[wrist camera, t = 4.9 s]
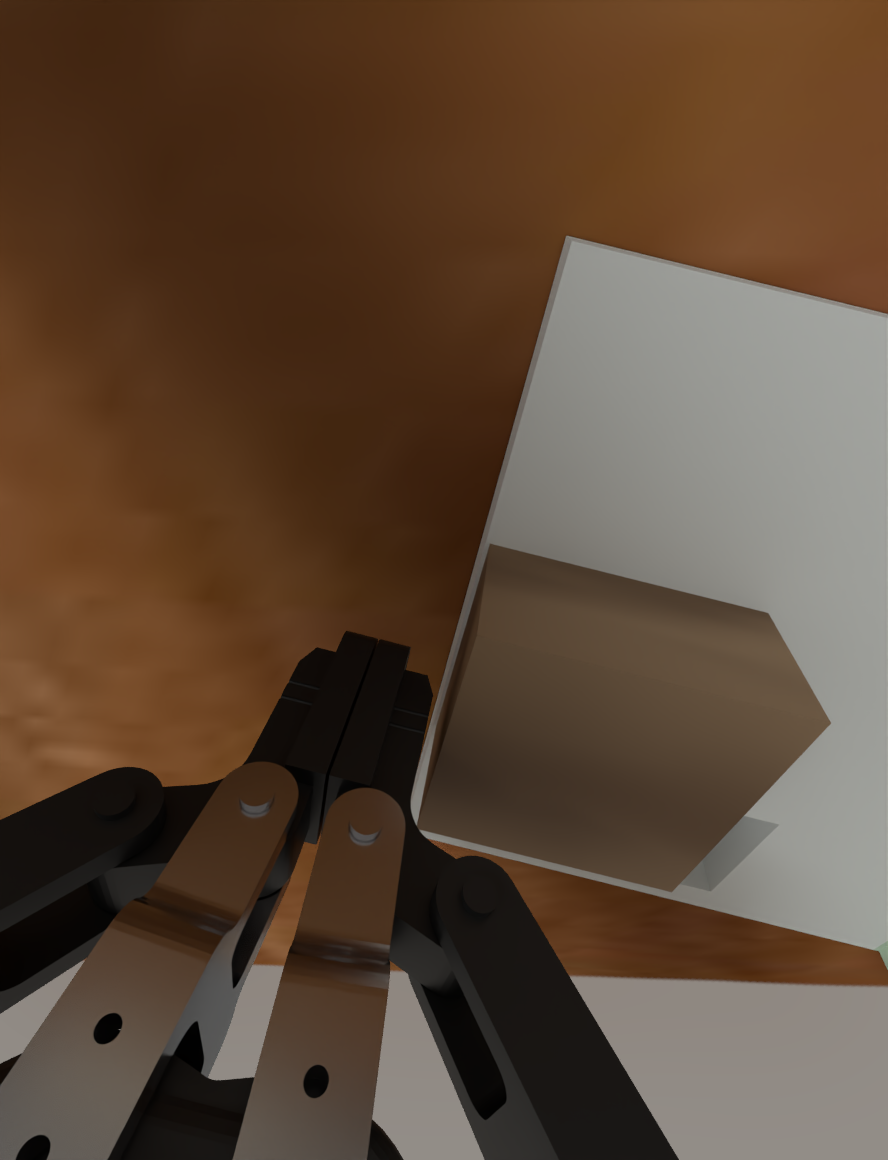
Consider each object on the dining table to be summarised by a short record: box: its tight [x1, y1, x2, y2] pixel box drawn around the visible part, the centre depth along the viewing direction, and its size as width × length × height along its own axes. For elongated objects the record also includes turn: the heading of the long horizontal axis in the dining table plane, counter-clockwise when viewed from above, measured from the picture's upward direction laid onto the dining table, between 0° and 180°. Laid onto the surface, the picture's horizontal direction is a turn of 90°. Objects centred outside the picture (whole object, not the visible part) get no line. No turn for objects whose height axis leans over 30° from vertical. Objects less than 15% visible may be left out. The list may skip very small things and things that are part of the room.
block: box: [417, 544, 831, 892], centre depth 12 cm, size 6×6×3 cm
